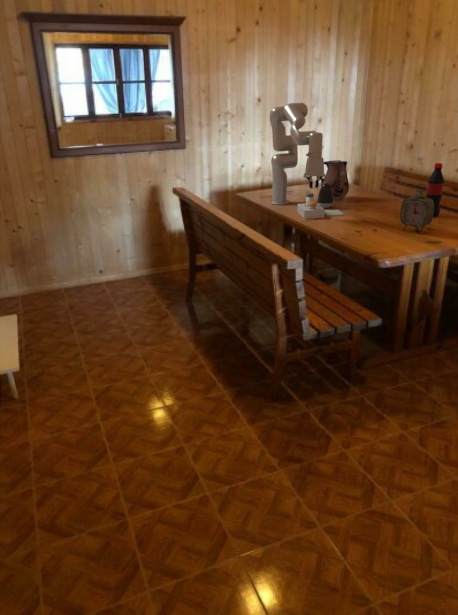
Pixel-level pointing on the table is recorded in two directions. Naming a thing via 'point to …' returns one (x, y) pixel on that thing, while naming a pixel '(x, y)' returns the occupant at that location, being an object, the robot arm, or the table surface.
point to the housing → (310, 211)
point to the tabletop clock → (417, 210)
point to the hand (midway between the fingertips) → (313, 187)
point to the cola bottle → (436, 187)
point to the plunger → (312, 204)
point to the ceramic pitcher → (336, 178)
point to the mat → (333, 213)
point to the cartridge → (309, 198)
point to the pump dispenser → (325, 196)
